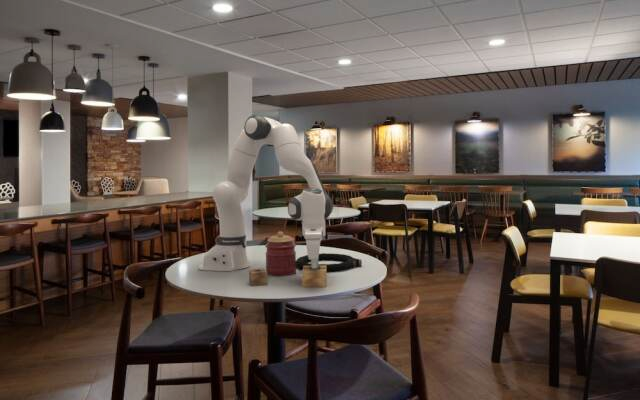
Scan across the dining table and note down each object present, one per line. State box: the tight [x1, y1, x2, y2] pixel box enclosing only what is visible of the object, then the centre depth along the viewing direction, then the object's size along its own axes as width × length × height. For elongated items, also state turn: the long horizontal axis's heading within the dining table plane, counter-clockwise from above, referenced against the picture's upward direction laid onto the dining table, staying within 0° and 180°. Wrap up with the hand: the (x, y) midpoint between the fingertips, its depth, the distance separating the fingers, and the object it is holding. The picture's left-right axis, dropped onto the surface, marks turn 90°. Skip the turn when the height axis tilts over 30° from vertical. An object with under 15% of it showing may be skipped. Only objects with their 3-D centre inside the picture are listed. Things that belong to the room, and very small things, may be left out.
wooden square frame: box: [301, 265, 328, 288], centre depth 177 cm, size 9×9×6 cm
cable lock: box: [296, 253, 362, 273], centre depth 207 cm, size 28×4×30 cm
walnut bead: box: [248, 268, 268, 287], centre depth 178 cm, size 6×6×5 cm
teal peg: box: [310, 259, 319, 270], centre depth 176 cm, size 3×3×11 cm
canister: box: [264, 230, 297, 277], centre depth 195 cm, size 13×13×18 cm
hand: (314, 266), depth 176 cm, fingers closed on teal peg, 3 cm apart
